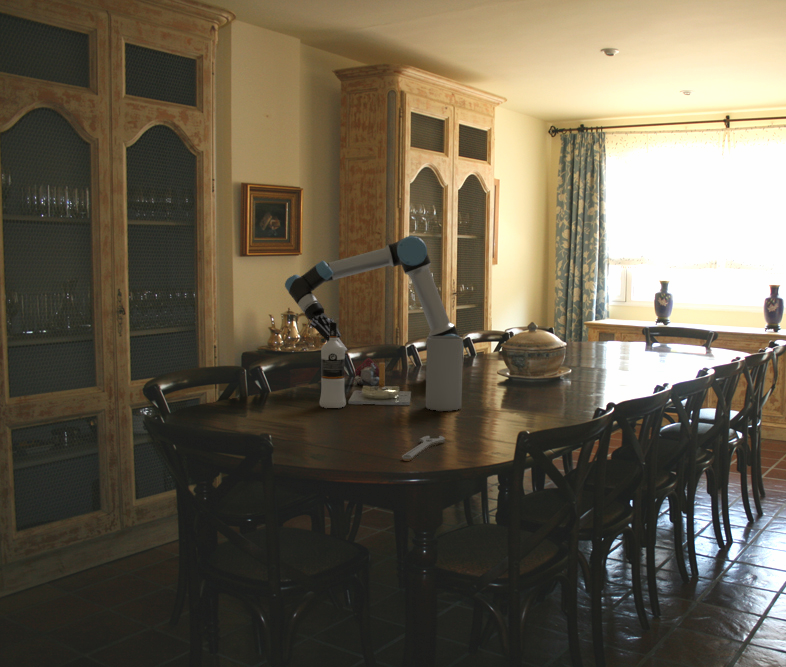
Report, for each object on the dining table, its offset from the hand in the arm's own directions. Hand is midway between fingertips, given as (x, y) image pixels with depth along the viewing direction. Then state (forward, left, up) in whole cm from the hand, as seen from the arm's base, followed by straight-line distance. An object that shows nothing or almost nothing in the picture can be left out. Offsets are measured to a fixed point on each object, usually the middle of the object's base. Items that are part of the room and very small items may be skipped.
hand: (344, 352), depth 287 cm
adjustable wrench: (-31, +87, -16) cm, 94 cm away
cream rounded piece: (-15, +14, -14) cm, 25 cm away
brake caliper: (-8, -19, -16) cm, 26 cm away
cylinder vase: (-38, +29, -16) cm, 51 cm away
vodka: (+1, +30, -16) cm, 34 cm away
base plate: (-15, +14, -16) cm, 26 cm away
